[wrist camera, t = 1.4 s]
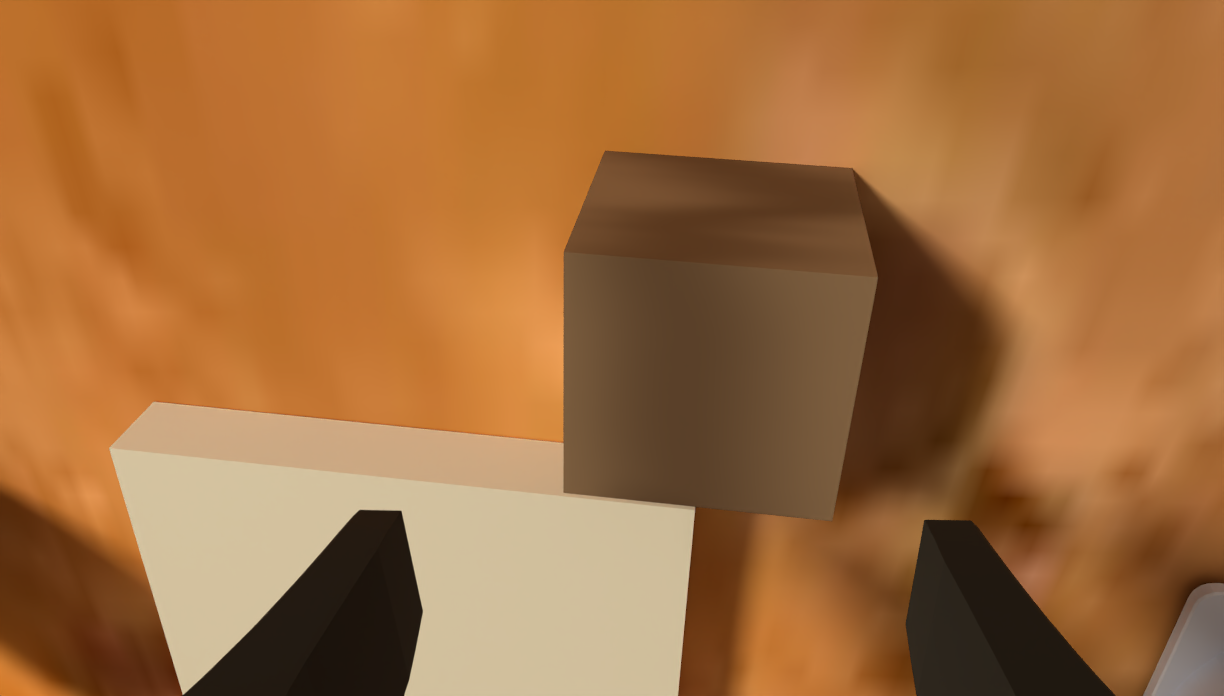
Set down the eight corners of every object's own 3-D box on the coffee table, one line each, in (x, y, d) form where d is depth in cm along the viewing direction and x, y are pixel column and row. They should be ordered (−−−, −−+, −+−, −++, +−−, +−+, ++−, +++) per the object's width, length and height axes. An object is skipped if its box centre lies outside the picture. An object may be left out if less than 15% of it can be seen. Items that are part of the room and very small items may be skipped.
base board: (699, 456, 23) (694, 510, 22) (667, 810, 31) (661, 871, 29) (153, 401, 25) (109, 448, 23) (245, 752, 32) (216, 807, 30)
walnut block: (851, 167, 19) (878, 277, 15) (817, 376, 22) (832, 521, 18) (605, 149, 20) (563, 251, 16) (600, 356, 22) (563, 493, 18)
